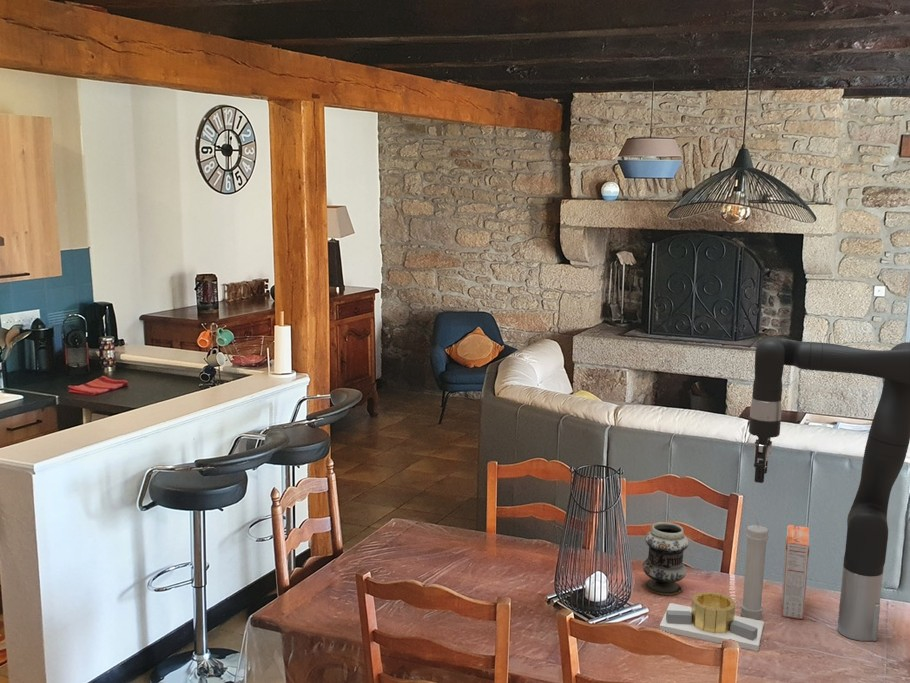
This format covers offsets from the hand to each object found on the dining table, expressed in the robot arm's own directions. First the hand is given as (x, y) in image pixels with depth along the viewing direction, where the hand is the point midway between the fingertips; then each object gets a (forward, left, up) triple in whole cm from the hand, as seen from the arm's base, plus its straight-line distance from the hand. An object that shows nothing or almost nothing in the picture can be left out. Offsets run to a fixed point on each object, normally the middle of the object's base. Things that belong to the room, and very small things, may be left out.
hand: (760, 477), depth 236 cm
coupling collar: (+8, +12, -36) cm, 39 cm away
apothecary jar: (+24, -7, -38) cm, 46 cm away
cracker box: (-10, -10, -38) cm, 41 cm away
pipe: (0, 0, -38) cm, 38 cm away
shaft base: (+8, +12, -38) cm, 41 cm away
